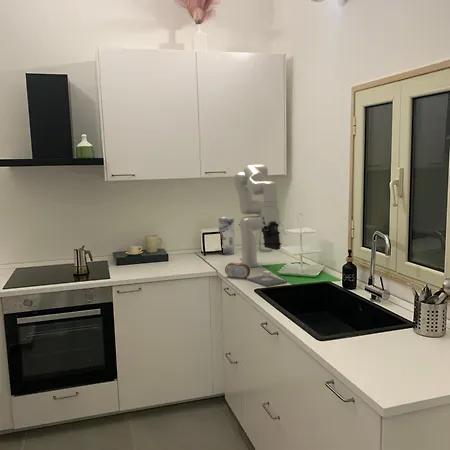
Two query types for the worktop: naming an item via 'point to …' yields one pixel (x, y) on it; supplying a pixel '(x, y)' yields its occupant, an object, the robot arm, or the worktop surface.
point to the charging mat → (267, 279)
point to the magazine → (272, 237)
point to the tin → (237, 270)
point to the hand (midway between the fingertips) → (270, 236)
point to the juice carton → (227, 235)
